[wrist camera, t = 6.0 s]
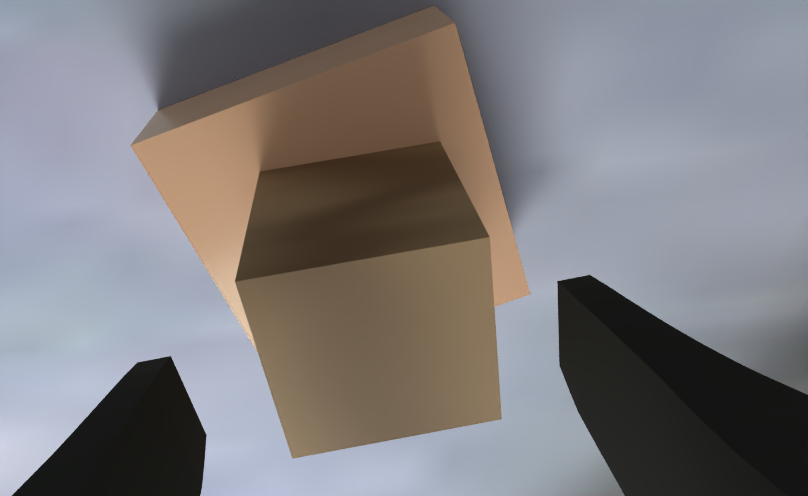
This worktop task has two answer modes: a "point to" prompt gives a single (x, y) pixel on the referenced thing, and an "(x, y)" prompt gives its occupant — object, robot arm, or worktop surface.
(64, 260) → the worktop surface
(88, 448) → the robot arm
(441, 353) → the walnut block
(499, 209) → the peach slab
